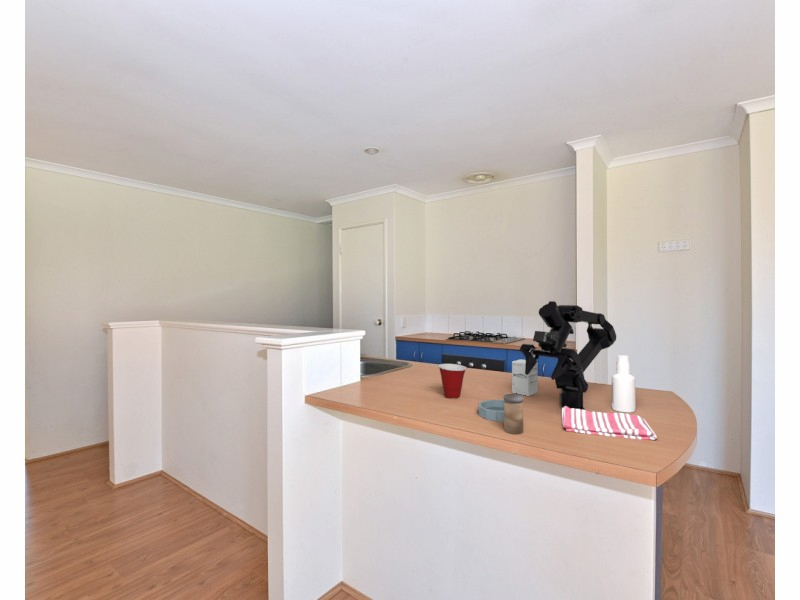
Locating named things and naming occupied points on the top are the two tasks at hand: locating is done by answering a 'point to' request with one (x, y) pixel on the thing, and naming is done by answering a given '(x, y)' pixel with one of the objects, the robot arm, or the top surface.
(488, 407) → the bowl
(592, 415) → the dish towel
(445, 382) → the plastic cup
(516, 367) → the supplement box
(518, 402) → the walnut jar
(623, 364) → the spray bottle
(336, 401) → the top surface
